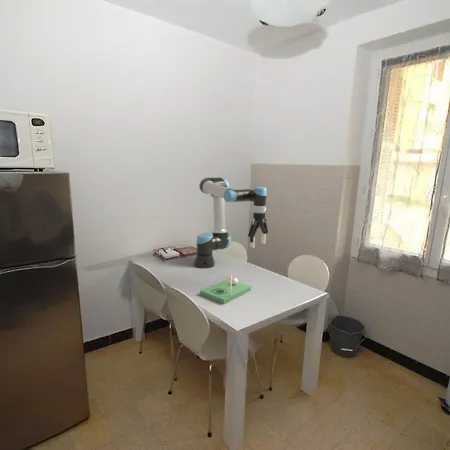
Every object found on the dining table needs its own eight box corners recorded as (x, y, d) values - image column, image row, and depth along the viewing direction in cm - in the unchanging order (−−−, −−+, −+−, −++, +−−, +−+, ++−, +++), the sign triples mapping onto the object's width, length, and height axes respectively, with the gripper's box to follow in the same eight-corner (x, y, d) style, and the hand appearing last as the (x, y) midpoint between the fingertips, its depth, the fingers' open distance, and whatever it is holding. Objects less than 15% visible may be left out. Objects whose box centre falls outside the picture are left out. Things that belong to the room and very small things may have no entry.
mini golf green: (227, 282, 188) (228, 261, 185) (251, 290, 177) (252, 267, 174) (200, 294, 169) (200, 271, 167) (224, 304, 158) (224, 279, 155)
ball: (230, 284, 178) (230, 278, 178) (234, 282, 181) (234, 276, 181) (235, 286, 176) (235, 279, 175) (239, 284, 179) (239, 278, 178)
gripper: (253, 215, 172) (252, 250, 176) (274, 210, 191) (272, 242, 195) (243, 213, 176) (241, 248, 180) (264, 209, 196) (262, 240, 200)
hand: (257, 245), depth 188 cm, fingers open, 13 cm apart
